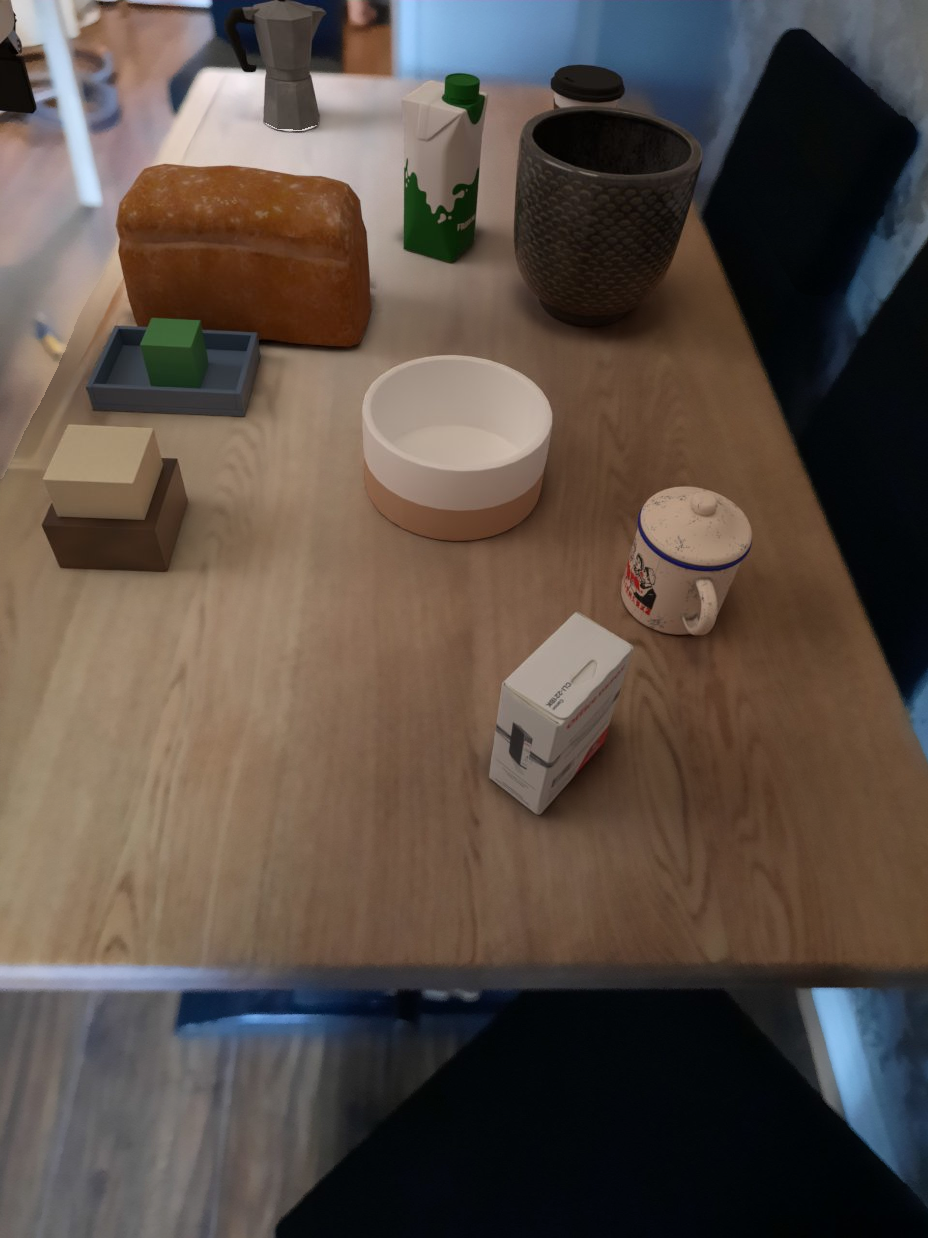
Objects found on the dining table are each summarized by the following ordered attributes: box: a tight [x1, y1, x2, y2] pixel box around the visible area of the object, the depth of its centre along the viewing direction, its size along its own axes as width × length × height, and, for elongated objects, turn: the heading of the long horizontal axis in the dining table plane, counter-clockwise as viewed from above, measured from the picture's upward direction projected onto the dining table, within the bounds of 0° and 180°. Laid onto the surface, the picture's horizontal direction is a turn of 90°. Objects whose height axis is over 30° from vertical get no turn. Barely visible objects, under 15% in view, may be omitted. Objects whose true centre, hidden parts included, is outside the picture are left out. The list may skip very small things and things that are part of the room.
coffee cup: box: [550, 64, 626, 109], centre depth 128 cm, size 11×11×12 cm
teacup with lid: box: [620, 486, 753, 636], centre depth 69 cm, size 12×9×12 cm
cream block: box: [42, 423, 163, 520], centre depth 70 cm, size 7×7×4 cm
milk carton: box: [400, 72, 489, 264], centre depth 106 cm, size 9×9×20 cm
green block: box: [140, 318, 209, 389], centre depth 88 cm, size 5×5×5 cm
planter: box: [513, 106, 703, 327], centre depth 98 cm, size 20×20×19 cm
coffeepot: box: [223, 0, 327, 130], centre depth 130 cm, size 15×9×18 cm, turn 114°
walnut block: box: [41, 457, 189, 572], centre depth 74 cm, size 9×9×5 cm
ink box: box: [488, 611, 634, 816], centre depth 59 cm, size 8×5×12 cm, turn 140°
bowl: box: [361, 354, 553, 542], centre depth 80 cm, size 17×17×8 cm
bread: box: [115, 163, 372, 348], centre depth 94 cm, size 14×26×16 cm, turn 87°
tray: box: [85, 325, 261, 418], centre depth 89 cm, size 15×11×3 cm
